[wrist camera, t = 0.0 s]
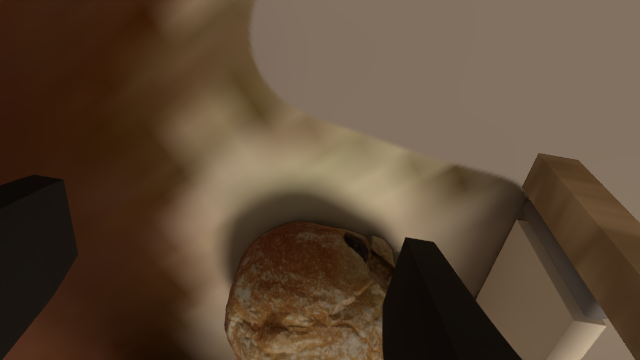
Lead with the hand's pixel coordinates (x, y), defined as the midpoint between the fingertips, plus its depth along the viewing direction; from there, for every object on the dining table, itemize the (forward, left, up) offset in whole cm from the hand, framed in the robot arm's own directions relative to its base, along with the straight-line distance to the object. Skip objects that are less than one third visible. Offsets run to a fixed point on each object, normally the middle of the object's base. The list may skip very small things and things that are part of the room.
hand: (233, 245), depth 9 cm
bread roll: (-11, -3, -10) cm, 16 cm away
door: (-10, -12, -10) cm, 19 cm away
